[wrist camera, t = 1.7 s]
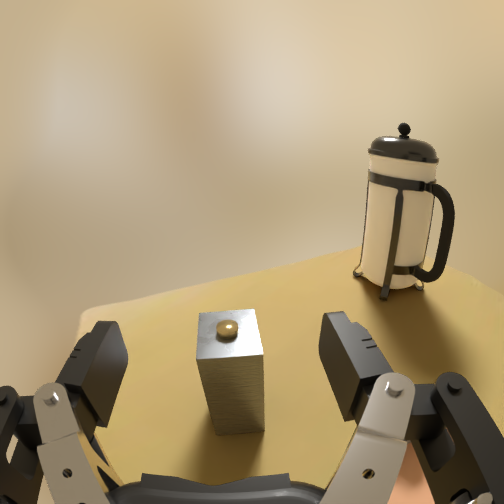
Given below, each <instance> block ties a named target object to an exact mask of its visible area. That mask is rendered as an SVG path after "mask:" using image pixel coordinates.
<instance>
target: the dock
mask: <svg viewBox="0 0 504 504" xmlns="http://www.w3.org/2000/svg"><path fill="white" fill-rule="evenodd" d="M450 436H451V435H450ZM451 438H452V437H451ZM452 440H453V439H452ZM406 441H407V448H406V452H405V455H404V458H403V462H402V465H401V468H400V471H399V474H398V477H397V480H396V482H395V485H394V488H393V491H392V493H391V496H390V498H389V501H388V503H387V504H435V503H434V500H433V497H432V494H431V491H430V489H429V486H428V483H427V481H426V478H425V475H424V473H423V470H422V468H421V465H420V463H419V460H418V458H417V455H416V453H415V450H414V448H413V446H412V443H411V441H410V440H406ZM453 442H454V441H453Z"/></svg>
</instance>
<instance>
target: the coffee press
mask: <svg viewBox="0 0 504 504" xmlns="http://www.w3.org/2000/svg"><path fill="white" fill-rule="evenodd" d="M398 130H399V132H400V133H401V134H402V135H400V136H399V137H392V136H382V137H378V138H376V139H375V140H374V141H373V142H372V144H371V148H369V149H368V153H369V155H370V169H369V171H368V187H367V203H366V215H365V226H364V236H363V244H362V253H361V260H360V264H361V262H362V264H361V269H362V272H361V273H356V272H355V270H356V269H357V268H358V267H359V266H360V264H359V265H358V266H357V267H356V268H355V269H354V271H353V275H354V276H356V277H358V276H360V275H362V274H364V276H365V277H366V278H367V279H368V280H369V281H371V282H373V283H374V284H376V285H379V286H382V291H381V295H380V299H382V300H386V301H387V297H388V293H389V289H390V288H391V289H403V288H407V287H410V286H412V285H413V284H414V286H415V287H416V288H417V290H423V288H424V282H426V283H429V282H433V281H435V280H437V279H438V278H439V277H440V276H441V274H442V273H443V270H444V268H445V265H446V261H447V257H448V253H449V248H450V244H451V239H452V233H453V227H454V219H455V216H454V215H455V211H454V204H453V201H452V198H451V196H450V194H449V193H448V191H447V190H446V189H444V188H443V187H442V186H440V185H438V184H436V179H435V176H436V166H437V165H438V162H439V158H437V156H436V152H435V149H434V148H433V147H432V146H431V145H430V144H428V143H426V142H424V141H420V140H416V139H409V136H407V135H408V134H409V133H410V130H411V129H410V127H409V125H408V124H406V123H401V124H400V125H399V127H398ZM435 196H436V197H437V198H438V199H439V200H440V202H441V205H442V208H443V221H442V228H441V233H440V239H439V244H438V249H437V253H436V258H435V262H434V265H433V268H432V269H431V271H430V272H427V271H425V270H423V269H422V268H423V263H424V259H425V254H426V249H427V244H428V239H429V233H430V227H431V220H432V214H433V207H434V198H435ZM418 279H419V280H420V281H421V282H422V285H423V286H421V287H419V286H418V285H417V284H416V282H417V280H418Z"/></svg>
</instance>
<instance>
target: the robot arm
mask: <svg viewBox="0 0 504 504" xmlns="http://www.w3.org/2000/svg"><path fill="white" fill-rule="evenodd" d="M319 355H320V359H321V362H322V364H323V367H324V369H325V372H326V374H327V377H328V380H329V382H330V385H331V387H332V390H333V392H334V395H335V398H336V400H337V403H338V406H339V408H340V411H341V413H342V416H343V419H344V421H345V422H346V421H350V420H355V422H356V424H357V427H356V429H355V431H354V433H353V435H352V438H351V440H350V442H349V444H348V446H347V448H346V450H345V452H344V454H343V456H342V458H341V460H340V462H339V464H338V466H337V468H336V470H335V472H334V474H333V475H332V477H331V479H330V481H329V483H328V484H327V486H326V488H325V489H322V488H320V487H317V486H315V485H312V484H308V483H304V482H298V481H290V478H289V473H286V474H277V475H268V476H257V477H250V478H246V479H242V480H238V481H234V482H230V483H226V484H222V485H217V486H210V485H205V484H201V483H197V482H193V481H189V480H186V479H182V478H179V477H173V476H162V475H153V474H145V473H142V477H141V481H138V482H133V483H129V484H124V483H123V481H122V480H121V479H120V478H119V476H118V475H117V474H116V472H115V470H114V469H113V467H112V465H111V463H110V461H109V460H108V458H107V456H106V454H105V452H104V450H103V448H102V446H101V444H100V442H99V440H98V437H97V435H96V434H95V432H94V431H95V428H96V426H100V427H106V428H107V426H108V422H109V419H110V416H111V413H112V409H113V406H114V403H115V400H116V397H117V394H118V391H119V388H120V385H121V382H122V379H123V376H124V373H125V371H126V368H127V365H128V353H127V349H126V346H125V344H124V341H123V338H122V335H121V332H120V328H119V325H118V323H117V322H116V321H98V322H97V323H96V324H95V326H94V328H93V329H92V331H91V333H87V334H85V335H84V336H83V337H82V338H81V339H80V340H79V341H78V342H77V344H76V346H75V347H74V351H72V353H71V354H70V358H68V360H67V361H66V363H65V365H64V367H63V369H62V370H61V372H60V374H59V376H58V378H57V380H56V381H55V383H47V384H45V385H43V386H41V387H40V388H39V389H38V390H37V391H36V393H35V395H34V396H19V395H18V393H17V392H16V391H15V389H14V388H12V387H11V386H2V387H0V504H37V500H38V495H39V491H40V487H41V482H42V478H43V475H45V478H46V481H47V484H48V487H49V490H50V492H51V495H52V497H53V500H54V502H55V504H387V503H388V501H389V498H390V496H391V493H392V491H393V488H394V485H395V482H396V480H397V477H398V474H399V471H400V468H401V465H402V462H403V458H404V455H405V452H406V448H407V441H406V440H410V441H411V443H412V446H413V448H414V450H415V453H416V455H417V458H418V460H419V463H420V465H421V468H422V470H423V473H424V475H425V478H426V481H427V483H428V486H429V489H430V491H431V494H432V497H433V500H434V503H435V504H504V438H503V436H502V434H501V432H500V431H499V429H498V427H497V426H496V424H495V422H494V421H493V419H492V417H491V416H490V414H489V413H488V411H487V410H486V408H485V406H484V405H483V403H482V402H481V400H480V399H479V397H478V396H477V394H476V393H475V391H474V390H473V388H472V387H471V385H470V384H469V382H468V381H467V380H466V379H465V378H464V377H463V376H462V375H460V374H457V373H454V372H447V373H443V374H442V375H440V376H439V377H438V379H437V381H436V382H435V384H413V382H412V381H411V380H410V379H409V378H408V377H407V376H405V375H403V374H400V373H394V372H393V370H392V368H391V367H390V365H389V364H388V362H387V360H386V359H385V357H384V356H383V354H382V352H381V351H380V349H379V348H378V347H377V345H376V343H375V342H374V340H372V337H371V335H370V334H369V332H368V331H367V329H365V328H364V327H363V326H361V325H360V324H359V323H357V322H354V323H351V322H350V320H349V319H348V317H347V315H346V314H345V312H343V311H340V312H331V313H324V315H323V318H322V326H321V333H320V339H319ZM13 434H14V435H15V437H16V438H17V439H18V442H17V445H16V447H15V450H14V453H13V456H12V459H11V462H10V464H9V463H8V461H7V458H6V452H7V448H8V446H9V443H10V441H11V438H12V435H13ZM450 435H451V436H450ZM451 437H452V438H451ZM452 439H453V440H452ZM453 441H454V442H453Z"/></svg>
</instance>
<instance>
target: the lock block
mask: <svg viewBox="0 0 504 504" xmlns="http://www.w3.org/2000/svg"><path fill="white" fill-rule="evenodd" d="M196 361H197V365H198V369H199V373H200V377H201V381H202V385H203V389H204V393H205V397H206V400H207V404H208V408H209V411H210V415H211V418H212V422H213V425H214V429H215V432H216V435H228V434H242V433H252V432H261V431H265V425H264V371H263V351H262V346H261V341H260V336H259V331H258V326H257V321H256V316H255V311H254V309H244V310H232V311H220V312H207V313H199V322H198V336H197V352H196Z"/></svg>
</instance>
